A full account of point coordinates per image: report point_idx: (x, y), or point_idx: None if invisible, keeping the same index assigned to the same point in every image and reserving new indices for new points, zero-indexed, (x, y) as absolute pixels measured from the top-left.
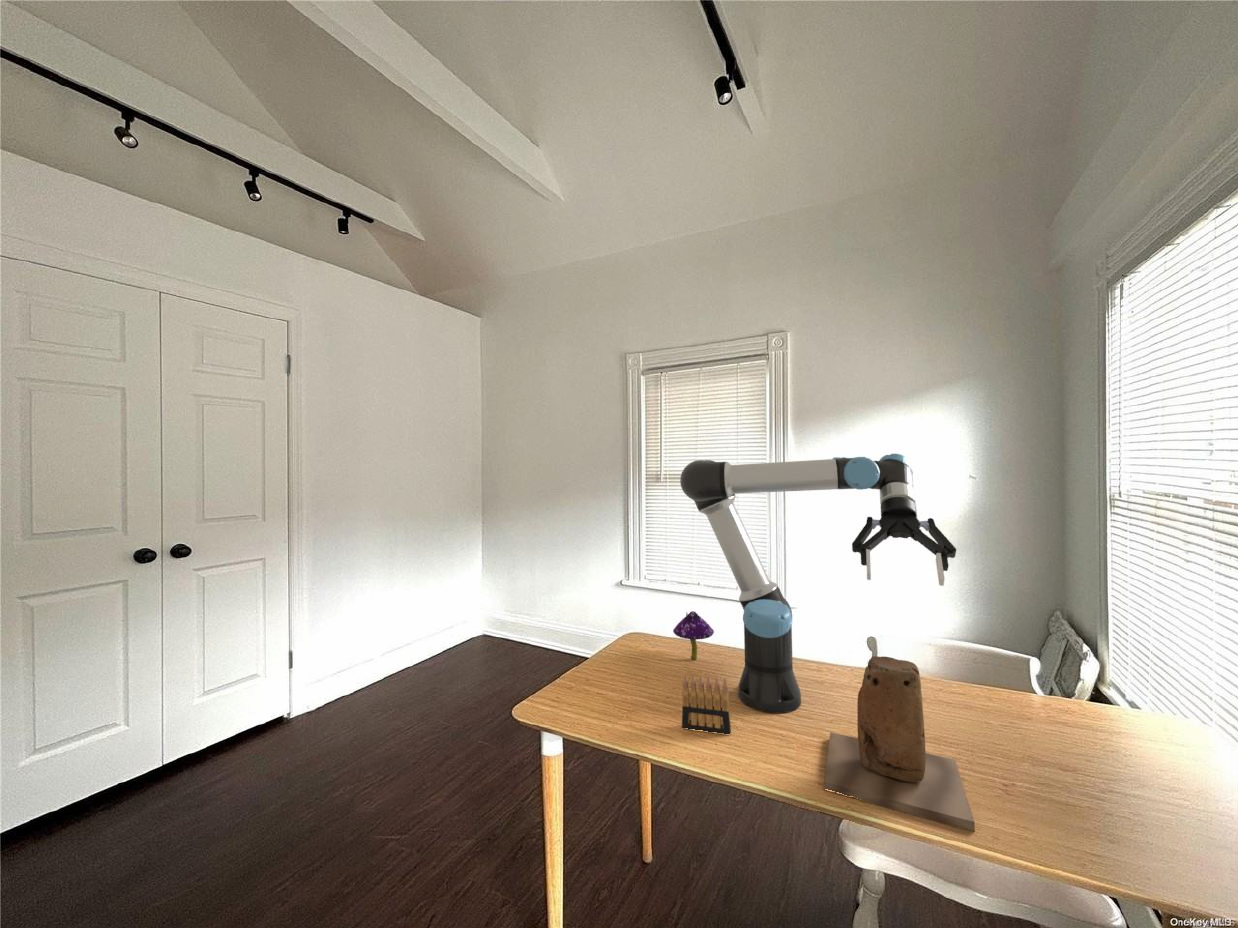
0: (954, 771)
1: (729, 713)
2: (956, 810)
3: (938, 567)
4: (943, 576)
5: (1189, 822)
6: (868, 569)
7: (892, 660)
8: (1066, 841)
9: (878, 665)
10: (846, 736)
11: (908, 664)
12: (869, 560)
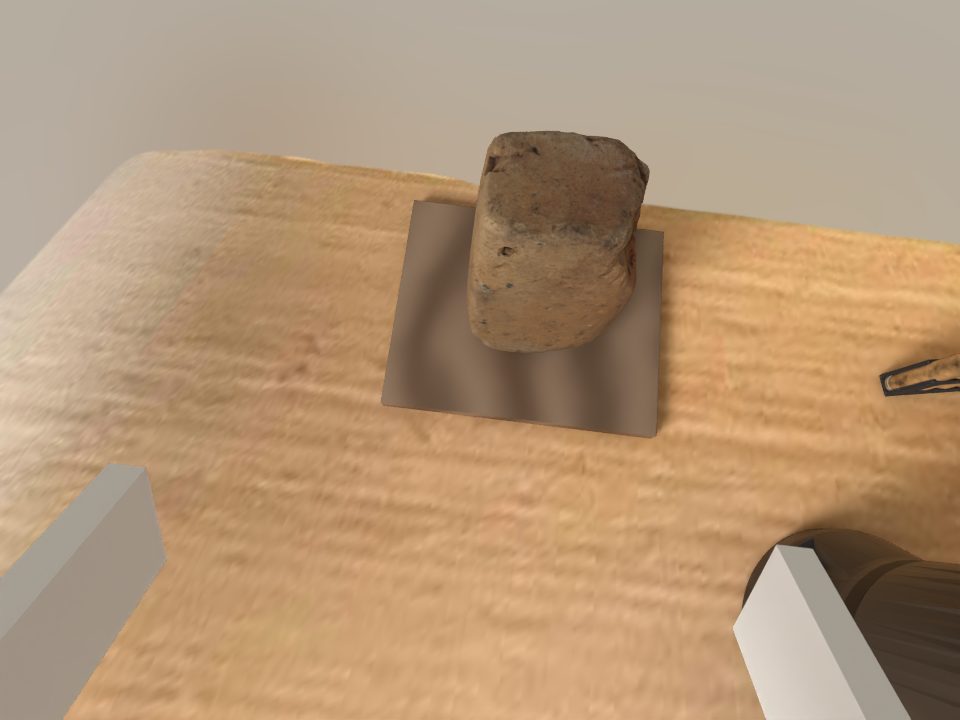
0: (398, 349)
1: (922, 372)
2: (435, 221)
3: (50, 596)
4: (99, 483)
5: (6, 351)
6: (816, 586)
7: (560, 214)
8: (272, 229)
9: (614, 147)
10: (617, 426)
11: (510, 196)
12: (873, 713)
